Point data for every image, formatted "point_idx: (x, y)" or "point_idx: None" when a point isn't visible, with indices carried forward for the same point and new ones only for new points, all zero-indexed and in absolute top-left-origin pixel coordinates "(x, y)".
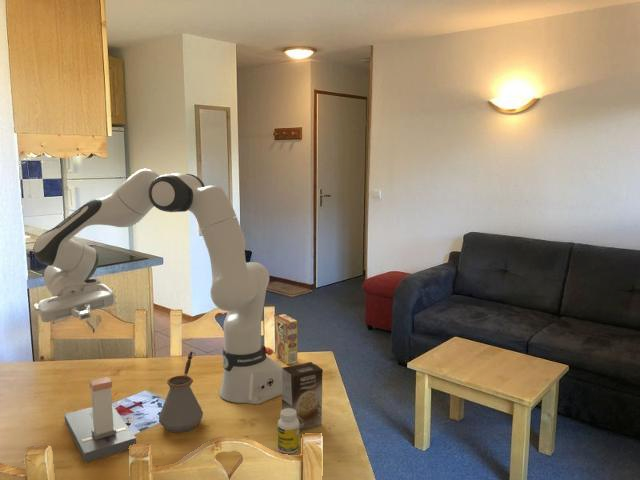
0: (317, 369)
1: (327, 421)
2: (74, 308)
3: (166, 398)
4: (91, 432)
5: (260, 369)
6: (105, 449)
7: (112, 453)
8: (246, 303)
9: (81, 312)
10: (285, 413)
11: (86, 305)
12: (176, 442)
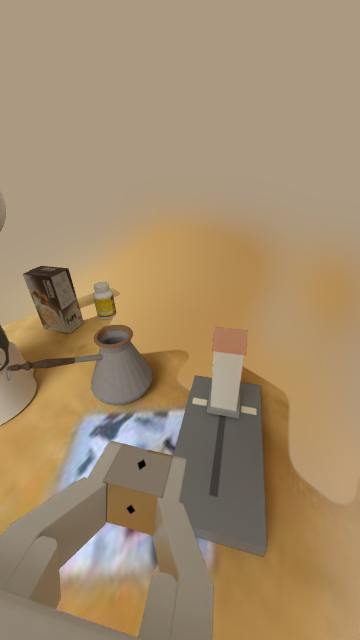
0: (43, 266)
1: None
2: (169, 601)
3: (133, 362)
4: (237, 424)
5: None
6: None
7: None
8: None
9: (156, 473)
10: (104, 284)
11: (33, 549)
12: (157, 366)
